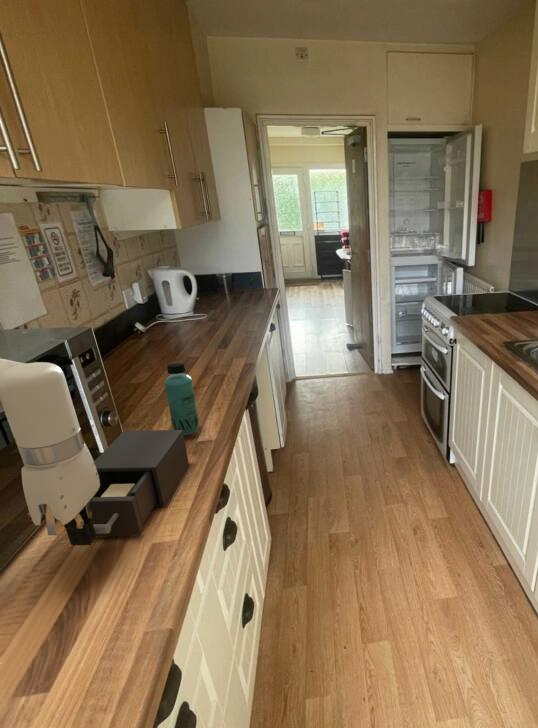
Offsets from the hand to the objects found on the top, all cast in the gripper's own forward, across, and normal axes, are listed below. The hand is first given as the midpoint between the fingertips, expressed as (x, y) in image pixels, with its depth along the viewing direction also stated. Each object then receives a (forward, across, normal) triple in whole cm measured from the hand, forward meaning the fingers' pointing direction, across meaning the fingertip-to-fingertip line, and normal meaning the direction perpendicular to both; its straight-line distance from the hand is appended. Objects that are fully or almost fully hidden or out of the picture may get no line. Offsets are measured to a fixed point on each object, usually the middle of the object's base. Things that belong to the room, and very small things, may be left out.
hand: (84, 541), depth 70 cm
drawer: (+4, -10, 0) cm, 11 cm away
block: (+3, -12, 0) cm, 12 cm away
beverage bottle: (+5, -44, 0) cm, 44 cm away
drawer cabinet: (+5, -22, 0) cm, 23 cm away
